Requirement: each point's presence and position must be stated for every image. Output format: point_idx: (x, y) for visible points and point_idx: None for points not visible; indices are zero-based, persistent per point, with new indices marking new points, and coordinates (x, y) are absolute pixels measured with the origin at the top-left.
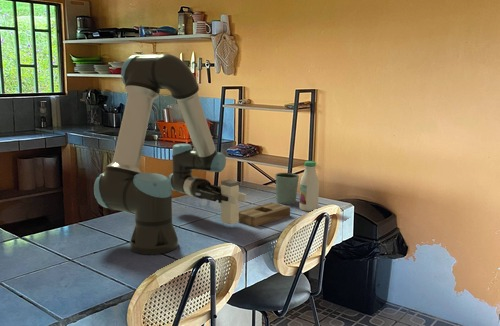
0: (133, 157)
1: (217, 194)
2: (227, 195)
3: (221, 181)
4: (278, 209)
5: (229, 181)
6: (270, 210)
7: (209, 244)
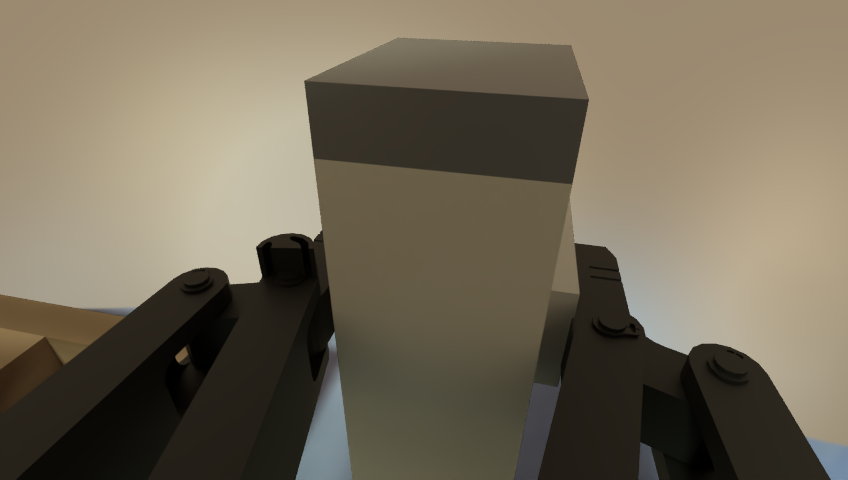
0: None
1: (640, 369)
2: (571, 234)
3: (587, 99)
4: (31, 318)
5: (471, 60)
6: (18, 368)
7: (821, 453)
